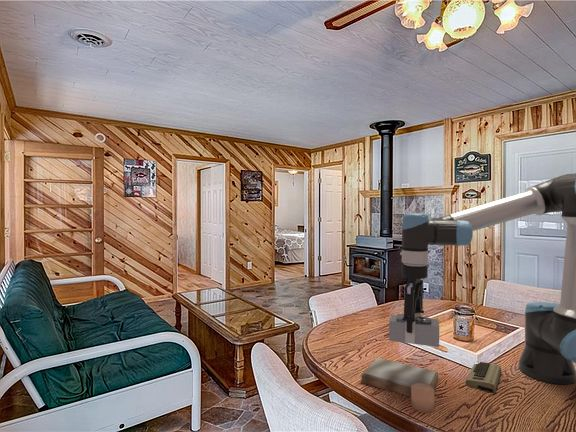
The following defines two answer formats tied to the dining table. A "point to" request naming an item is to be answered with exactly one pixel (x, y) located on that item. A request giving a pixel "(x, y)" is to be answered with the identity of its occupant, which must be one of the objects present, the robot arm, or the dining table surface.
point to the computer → (484, 376)
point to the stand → (397, 376)
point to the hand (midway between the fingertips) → (413, 337)
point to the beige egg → (422, 397)
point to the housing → (423, 330)
